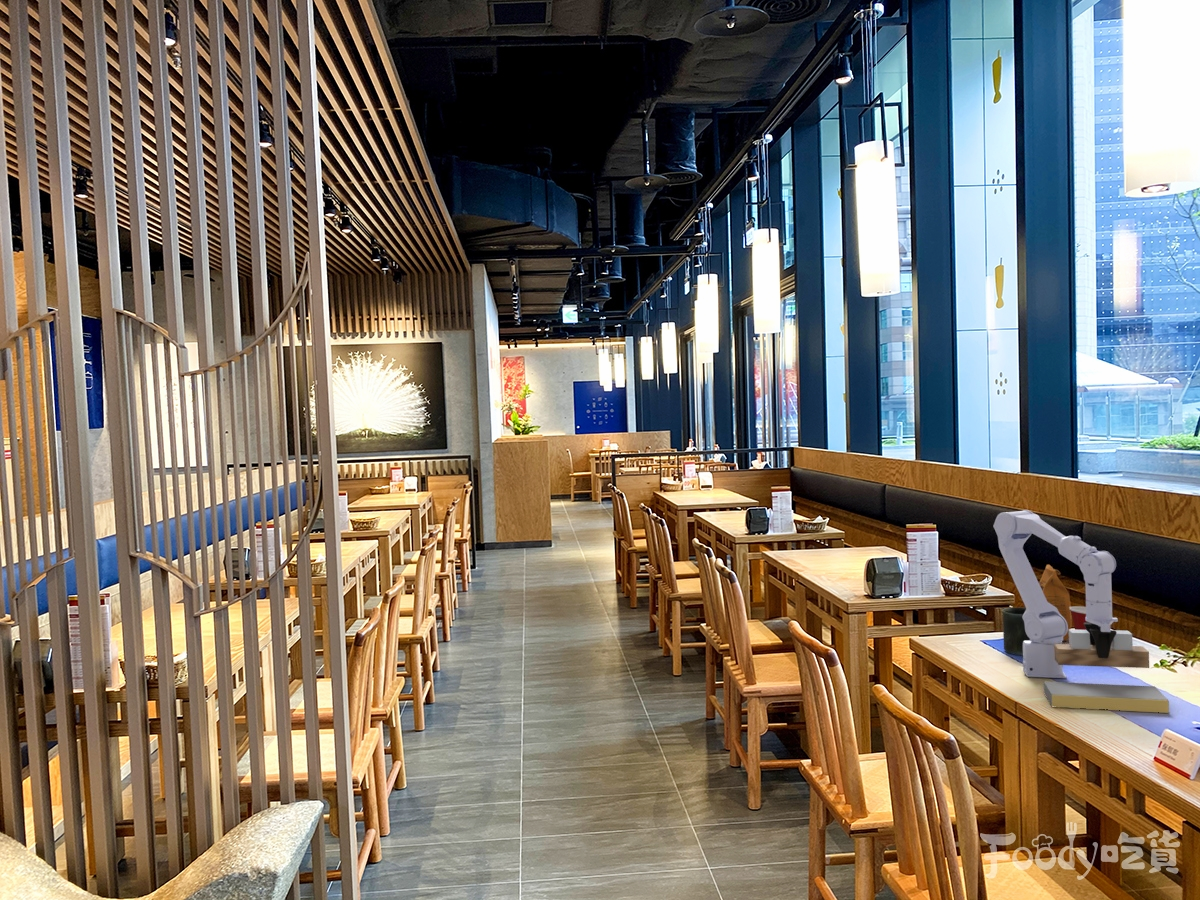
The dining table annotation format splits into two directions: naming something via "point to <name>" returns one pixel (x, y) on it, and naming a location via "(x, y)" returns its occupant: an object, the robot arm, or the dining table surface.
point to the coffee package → (1056, 594)
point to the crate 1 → (1079, 639)
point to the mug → (1014, 630)
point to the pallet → (1090, 658)
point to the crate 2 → (1122, 640)
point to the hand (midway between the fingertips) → (1100, 654)
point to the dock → (1106, 697)
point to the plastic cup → (1078, 617)
